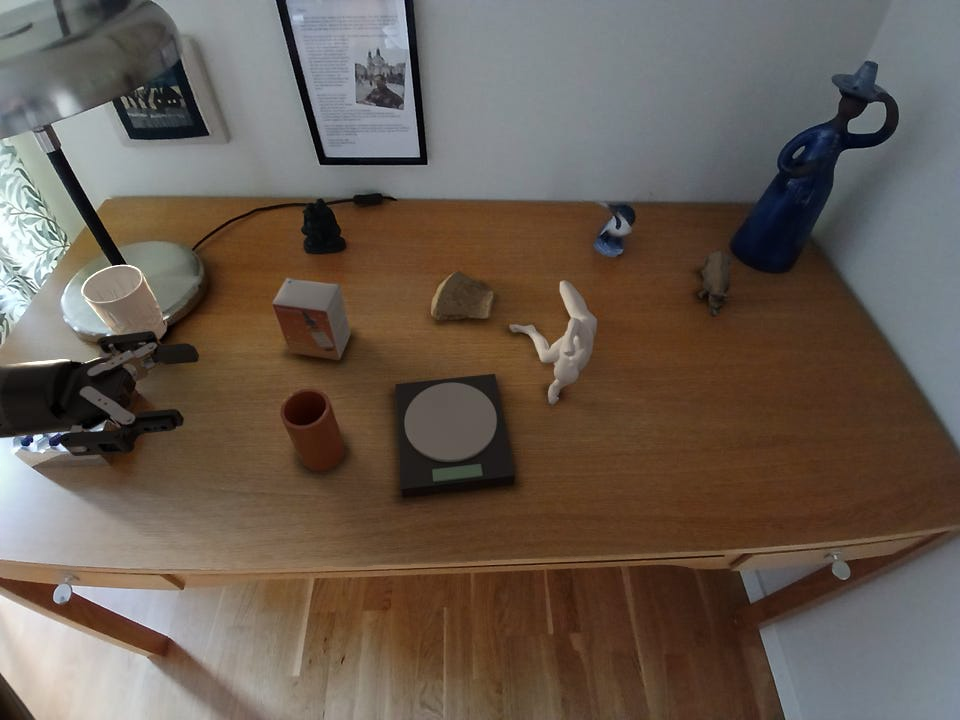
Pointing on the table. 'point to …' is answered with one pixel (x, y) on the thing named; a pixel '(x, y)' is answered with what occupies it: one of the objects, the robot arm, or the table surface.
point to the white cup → (124, 301)
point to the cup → (313, 429)
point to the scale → (452, 436)
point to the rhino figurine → (716, 280)
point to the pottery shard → (462, 299)
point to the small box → (312, 318)
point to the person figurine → (566, 341)
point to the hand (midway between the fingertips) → (189, 383)
